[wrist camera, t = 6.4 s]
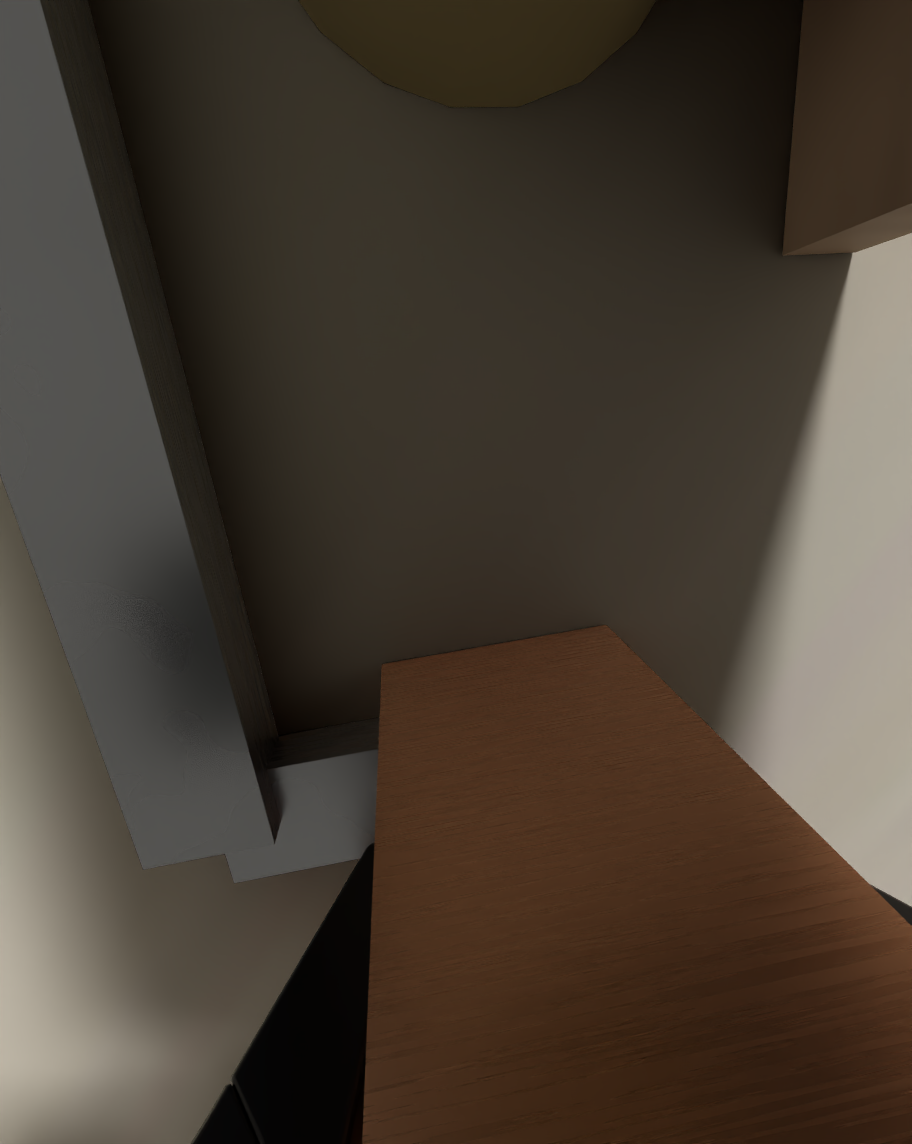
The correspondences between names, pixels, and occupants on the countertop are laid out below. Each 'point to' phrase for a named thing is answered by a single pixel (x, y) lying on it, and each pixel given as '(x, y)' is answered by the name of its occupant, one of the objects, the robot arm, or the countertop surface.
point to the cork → (479, 43)
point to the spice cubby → (851, 128)
